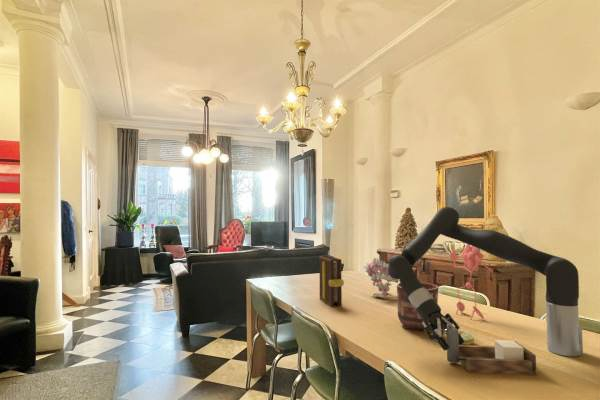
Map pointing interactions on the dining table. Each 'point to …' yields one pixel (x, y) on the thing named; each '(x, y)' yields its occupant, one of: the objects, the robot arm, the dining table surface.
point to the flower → (373, 270)
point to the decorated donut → (466, 337)
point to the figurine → (471, 259)
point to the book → (330, 280)
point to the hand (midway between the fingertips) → (454, 346)
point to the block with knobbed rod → (501, 352)
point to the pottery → (406, 309)
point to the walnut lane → (495, 361)
